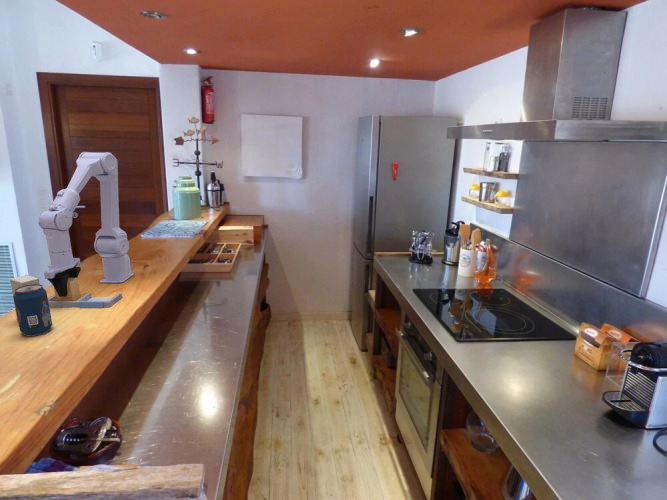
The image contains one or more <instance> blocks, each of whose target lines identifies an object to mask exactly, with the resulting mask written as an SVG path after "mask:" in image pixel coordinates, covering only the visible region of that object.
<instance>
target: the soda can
mask: <svg viewBox="0 0 667 500" xmlns="http://www.w3.org/2000/svg"><path fill="white" fill-rule="evenodd" d="M12 298H13V299H12V300H13V304H15V305H14V309H16V311H15V314H17V316H16V320H17V319H18V320H17V322H18V327H19V331H20V333H22V334H23V335H24V336H26V337H35V336H40V335H44V334H46V333H48V332H49V331H50V330H51V328H52V326H53V319H52V316H51V315H52V314H51V310H50V308H51V307H49V303H48V298H49V297H48V292H47V290H46V289H45V288H44V286H43V285H42V284H31V285H25V286H21V287H19V288H16V289H15V294H14V296H13V295H12Z"/></svg>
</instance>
